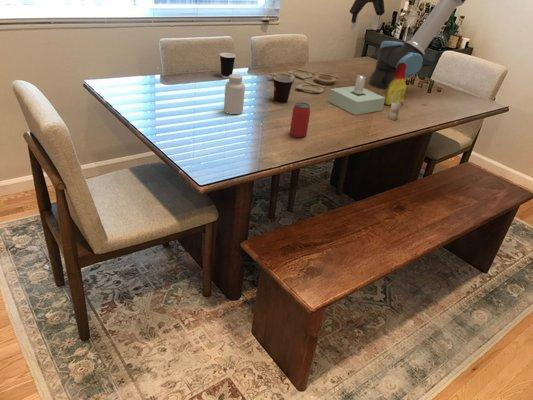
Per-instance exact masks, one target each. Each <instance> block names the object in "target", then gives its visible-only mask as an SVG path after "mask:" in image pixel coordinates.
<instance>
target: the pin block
mask: <svg viewBox="0 0 533 400" xmlns="http://www.w3.org/2000/svg"><path fill="white" fill-rule="evenodd" d="M354 88H355V85H351V86H344V87H343V86H342V87H337V88H330V90H329V94H328V99H327V101H328V102H329V103H331V104H332V105H334V106H336V107H338V108H340V109H342V110H344V111H346V112H347V113H349V114H352V115H353V114H354V115H353V116H356V115H357V116H358V115H363V114H369V113H374V112H381V111H383V110H384V106H385V103H384V102H385V96H382V95H380V94H378V93H375V92H373V91H371V90H369V89H367V88H365V87H364V88H363V93H362V96H356V95H354V94H353V93H354Z"/></svg>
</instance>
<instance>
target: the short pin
mask: <svg viewBox="0 0 533 400" xmlns="http://www.w3.org/2000/svg"><path fill="white" fill-rule="evenodd" d="M401 106H402V103H399V102H392V104H391V105H390V108H389V112H388V116H387V119H389V120H392V121H396V120H397V119H398V116H399V112H400V109H401Z"/></svg>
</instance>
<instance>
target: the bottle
mask: <svg viewBox="0 0 533 400" xmlns="http://www.w3.org/2000/svg"><path fill="white" fill-rule="evenodd" d="M405 70H406V64H405V63H399V64H398V66H397V68H396V71H395V74H394V77H393V79H392V81H391V82H390V83H389V84H388V86H387V88H386V89H385V93H384V97H385V102H384V105H387V106H391V104H392V102H399V103H401V104H402V103H403V102H404V98H405V95H406V90H407V85H406V81H405V75H404V74H405Z"/></svg>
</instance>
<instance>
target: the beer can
mask: <svg viewBox="0 0 533 400" xmlns="http://www.w3.org/2000/svg"><path fill="white" fill-rule="evenodd" d="M310 115H311V107H310V104H309V103H306V102H300V101H299V102H296V103H294V106H293V109H292V113H291V119H290V120H291V121H290V129H289V134H290V135H291V136H293V137H294V138H295V137H296V138H304V137H306V136H307V135H308V129H309V128H308V127H309V122H310Z"/></svg>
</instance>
